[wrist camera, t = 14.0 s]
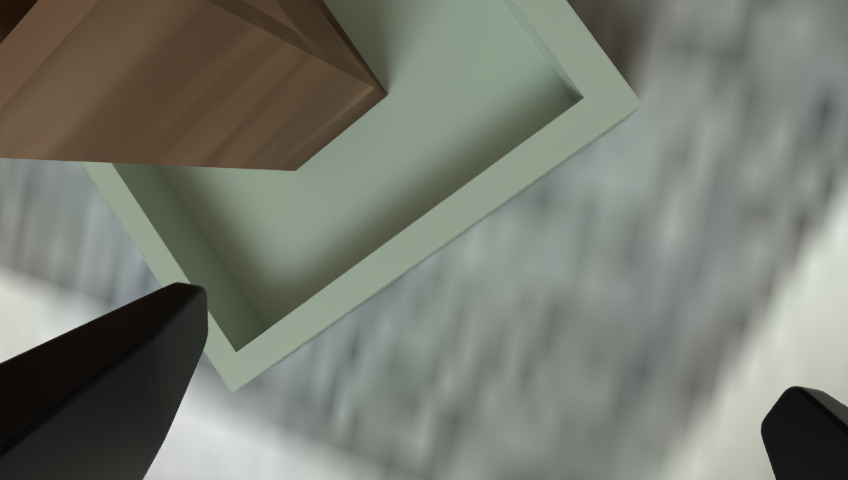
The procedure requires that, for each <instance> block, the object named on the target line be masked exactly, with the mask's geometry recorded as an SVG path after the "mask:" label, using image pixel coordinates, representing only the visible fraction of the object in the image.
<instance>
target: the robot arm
mask: <svg viewBox="0 0 848 480" xmlns="http://www.w3.org/2000/svg"><path fill="white" fill-rule="evenodd" d="M207 337H208V303H207V292H206V289H205V288H204V287H202V286H200V285H194V284H188V283H182V282H175V283H172V284H170V285H167V286H165V287H163V288H161V289H159V290H157V291H154V292H152V293H150V294H148V295H146V296H144V297H142V298H139V299H137V300H135V301H133V302H131V303H129V304H127V305H124V306H122V307H120V308H118V309H116V310H114V311H112V312H109V313H107V314H105V315H103V316H101V317H99V318H97V319H94V320H92V321H90V322H88V323H86V324H84V325H82V326H79V327H77V328H75V329H73V330H71V331H69V332H67V333H64V334H62V335H60V336H58V337H56V338H54V339H52V340H49V341H47V342H45V343H43V344H41V345H39V346H37V347H34V348H32V349H30V350H28V351H26V352H24V353H21V354H19V355H17V356H15V357H13V358H11V359H9V360H6V361H4V362H2V363H0V480H143V478H144V476H145V475H146V473H147V471H148V469H149V468H150V466H151V464H152V462H153V460H154V459H155V457H156V455H157V453H158V451H159V449H160V448H161V446H162V444H163V442H164V440H165V438H166V436H167V433H168V431H169V429H170V427H171V425H172V422H173V420H174V418H175V415H176V413H177V411H178V408H179V406H180V404H181V401H182V399H183V397H184V394H185V392H186V389H187V387H188V385H189V382H190V380H191V378H192V375H193V373H194V371H195V368H196V366H197V364H198V361H199V359H200V357H201V354H202V352H203V350H204V347H205V345H206V341H207ZM761 435H762V439H763V442H764V445H765V448H766V451H767V454H768V457H769V460H770V463H771V466H772V469H773V472H774V475H775V478H776V480H848V407H847V406H845V405H843V404H842V403H840V402H839V401H837V400H836V399H834V398H833V397H831V396H830V395H828V394H826V393H825V392H823V391H820V390H817V389H811V388H805V387H799V386H793V387H790V388H788V389H787V390H785V392H784V393H783V394H782V395H781V397H780V398H779V399H778V401H777V402H776V403H775V405H774V406H773V407H772V409H771V410H770V411H769V413H768V414H767V415H766V417H765V418H764V420H763V422H762V425H761Z"/></svg>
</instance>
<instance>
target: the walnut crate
mask: <svg viewBox="0 0 848 480" xmlns="http://www.w3.org/2000/svg"><path fill="white" fill-rule="evenodd" d="M386 96H388V94H387V92H386V91H385V90H384V88H383V87H382V85H381V84H380V82H379V81H378V79H377V78H376V76H375V75H374V74H373V72H372V71H371V69H370V68H369V66H368V65H367V63H366V62H365V60H364V59H363V58H362V56H361V55H360V53H359V52H358V50H357V49H356V47H355V46H354V44H353V43H352V42H351V40H350V39H349V37H348V36H347V34H346V33H345V31H344V30H343V28H342V27H341V26H340V24H339V23H338V21H337V20H336V18H335V17H334V15H333V14H332V13H331V11H330V10H329V8H328V7H327V5H326V4H325V2H324V1H323V0H0V158H16V159H38V160H60V161H82V162H104V163H126V164H148V165H171V166H193V167H215V168H237V169H259V170H281V171H296V170H297V169H298V168H300V167H301V166H302V165H303V164H305V163H306V162H307V161H308V160H309V159H311V158H312V157H313V156H314V155H316V154H317V153H318V152H319V151H320V150H322V149H323V148H324V147H325V146H327V145H328V144H329V143H330V142H331V141H333V140H334V139H335V138H336V137H338V136H339V135H340V134H341V133H342V132H344V131H345V130H346V129H347V128H349V127H350V126H351V125H352V124H353V123H355V122H356V121H357V120H358V119H360V118H361V117H362V116H363V115H364V114H366V113H367V112H368V111H369V110H370V109H372V108H373V107H374V106H375V105H377V104H378V103H379V102H380V101H381V100H383V99H384V98H385V97H386Z"/></svg>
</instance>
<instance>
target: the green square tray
mask: <svg viewBox="0 0 848 480" xmlns="http://www.w3.org/2000/svg"><path fill="white" fill-rule="evenodd" d="M323 1H324V2H325V4H326V5H327V7H328V8H329V10H330V11H331V13H332V14H333V15H334V17H335V18H336V20H337V21H338V23H339V24H340V26H341V27H342V28H343V30H344V31H345V33H346V34H347V36H348V37H349V39H350V40H351V42H352V43H353V44H354V46H355V47H356V49H357V50H358V52H359V53H360V55H361V56H362V58H363V59H364V60H365V62H366V63H367V65H368V66H369V68H370V69H371V71H372V72H373V74H374V75H375V76H376V78H377V79H378V81H379V82H380V84H381V85H382V87H383V88H384V90H385V91H386V92H387V94H388V96H386V97H385V98H384V99H383V100H381V101H380V102H379V103H378V104H377V105H375V106H374V107H373V108H372V109H370V110H369V111H368V112H367V113H366V114H364V115H363V116H362V117H361V118H360V119H358V120H357V121H356V122H355V123H353V124H352V125H351V126H350V127H349V128H347V129H346V130H345V131H344V132H342V133H341V134H340V135H339V136H338V137H336V138H335V139H334V140H333V141H331V142H330V143H329V144H328V145H327V146H325V147H324V148H323V149H322V150H320V151H319V152H318V153H317V154H316V155H314V156H313V157H312V158H311V159H309V160H308V161H307V162H306V163H305V164H303V165H302V166H301V167H300V168H298V169H297V170H296V171H281V170H259V169H237V168H215V167H193V166H171V165H148V164H126V163H104V162H82V161H81V163H82V165H83V166H84V168H85V169H86V171H87V172H88V174H89V175H90V177H91V178H92V180H93V181H94V183H95V184H96V186H97V188H98V189H99V191H100V192H101V194H102V195H103V197H104V198H105V200H106V201H107V203H108V204H109V206H110V207H111V209H112V211H113V212H114V214H115V215H116V217H117V218H118V220H119V221H120V223H121V224H122V226H123V227H124V229H125V230H126V232H127V234H128V235H129V237H130V238H131V240H132V241H133V243H134V244H135V246H136V247H137V249H138V250H139V252H140V253H141V255H142V256H143V258H144V260H145V261H146V263H147V264H148V266H149V267H150V269H151V270H152V272H153V273H154V275H155V276H156V278H157V279H158V281H159V283H160V284H161V286H162V287H165V286H167V285H170V284H172V283H175V282H182V283H188V284H194V285H200V286H202V287H204V288H205V289H206V292H207V303H208V337H207V341H206V345H205V347H204V352H205V353H206V355H207V356H208V358H209V359H210V361H211V362H212V364H213V365H214V367H215V368H216V370H217V371H218V373H219V374H220V376H221V378H222V379H223V381H224V382H225V384H226V385H227V387H228V388H229V390H230V391H231V393H233V392H235V391H236V390H238V389H239V388H241V387H243V386H244V385H246V384H247V383H249V382H250V381H252V380H253V379H255V378H256V377H258V376H259V375H261V374H263V373H264V372H266V371H267V370H269V369H270V368H272V367H273V366H275V365H276V364H278V363H280V362H281V361H282V360H284V359H285V358H287V357H288V356H289V355H291V354H292V353H294V352H295V351H297V350H298V349H299V348H301V347H302V346H304V345H305V344H307V343H308V342H309V341H311V340H312V339H314V338H315V337H317V336H318V335H319V334H321V333H322V332H324V331H325V330H327V329H328V328H329V327H331V326H332V325H334V324H335V323H337V322H338V321H339V320H341V319H342V318H344V317H345V316H347V315H348V314H349V313H351V312H352V311H354V310H355V309H356V308H358V307H359V306H361V305H362V304H364V303H365V302H366V301H368V300H369V299H371V298H372V297H374V296H375V295H376V294H378V293H379V292H381V291H382V290H384V289H385V288H386V287H388V286H389V285H391V284H392V283H394V282H395V281H396V280H398V279H399V278H401V277H402V276H404V275H405V274H406V273H408V272H409V271H411V270H412V269H414V268H415V267H416V266H418V265H419V264H421V263H422V262H424V261H425V260H426V259H428V258H429V257H431V256H432V255H433V254H435V253H436V252H438V251H439V250H441V249H442V248H443V247H445V246H446V245H448V244H449V243H451V242H452V241H453V240H455V239H456V238H458V237H459V236H461V235H462V234H463V233H465V232H466V231H468V230H469V229H471V228H472V227H473V226H475V225H476V224H478V223H479V222H481V221H482V220H483V219H485V218H486V217H488V216H489V215H491V214H492V213H493V212H495V211H496V210H498V209H499V208H500V207H502V206H503V205H505V204H506V203H508V202H509V201H510V200H512V199H513V198H515V197H516V196H518V195H519V194H520V193H522V192H523V191H525V190H526V189H528V188H529V187H530V186H532V185H533V184H535V183H536V182H538V181H539V180H540V179H542V178H543V177H545V176H546V175H548V174H549V173H550V172H552V171H553V170H555V169H556V168H558V167H559V166H560V165H562V164H563V163H565V162H566V161H567V160H569V159H570V158H572V157H573V156H575V155H576V154H577V153H579V152H580V151H582V150H583V149H585V148H586V147H587V146H589V145H590V144H592V143H593V142H595V141H596V140H597V139H599V138H600V137H602V136H603V135H605V134H606V133H607V132H609V131H610V130H612V129H613V128H615V127H616V126H617V125H619V124H620V123H622V122H623V121H625V120H626V119H627V118H628V117H630V116H631V115H632V114H633V113H634V112H635V111H636V110H637V109H638V108H639V107H640V106H642V105H643V104H642V103H641V101H640V100H639V98H638V97H637V96H636V94H635V93H634V92H633V90H632V89H631V88H630V86H629V85H628V83H627V82H626V81H625V79H624V78H623V77H622V75H621V74H620V73H619V71H618V70H617V69H616V67H615V66H614V64H613V63H612V62H611V60H610V59H609V58H608V56H607V55H606V54H605V52H604V51H603V49H602V48H601V47H600V45H599V44H598V43H597V41H596V40H595V39H594V37H593V36H592V35H591V33H590V32H589V30H588V29H587V28H586V26H585V25H584V24H583V22H582V21H581V20H580V18H579V17H578V15H577V14H576V13H575V11H574V10H573V9H572V7H571V6H570V5H569V3H568V2H567V1H566V0H323Z"/></svg>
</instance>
